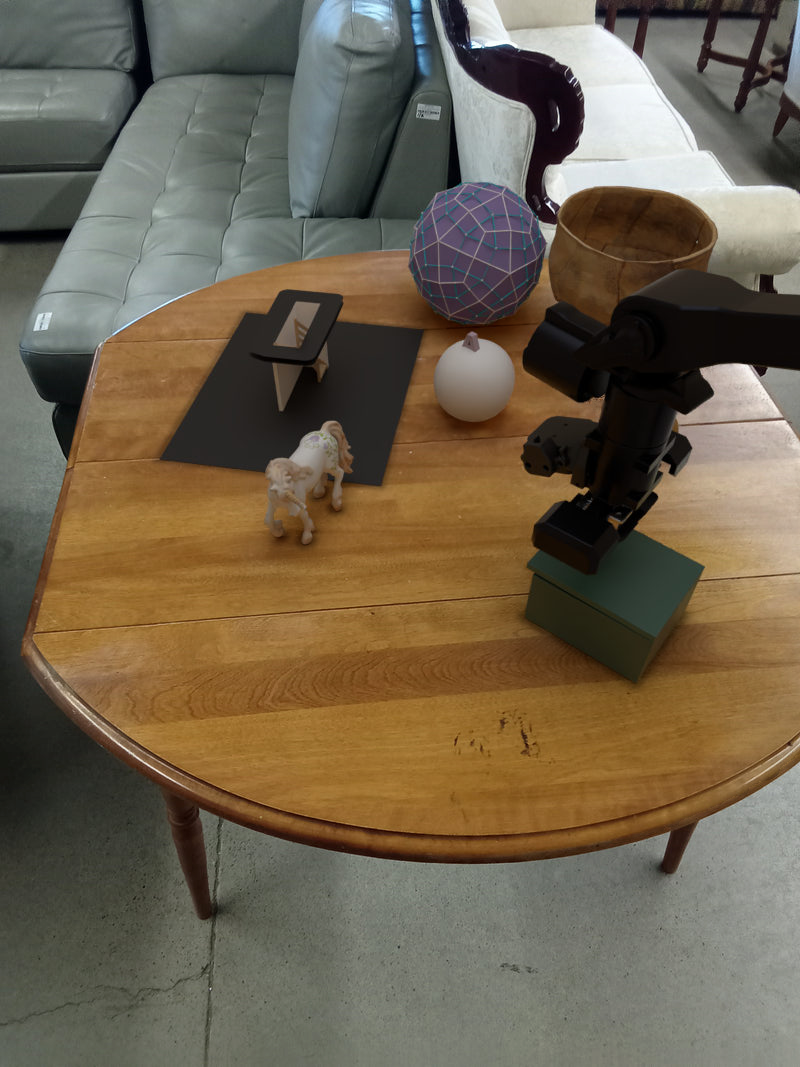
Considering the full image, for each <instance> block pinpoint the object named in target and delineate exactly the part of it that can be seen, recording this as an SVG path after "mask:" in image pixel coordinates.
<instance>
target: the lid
mask: <svg viewBox="0 0 800 1067" xmlns="http://www.w3.org/2000/svg"><path fill="white" fill-rule="evenodd" d="M525 568H526V569H527V570H529V571H531V572H532V573H533V574H534V573H536V574H538V575H539V576H541V577H543V578H545V579H546V580H548V581H550V582H551V583H553V584H555V585H556V586H558V587H560V588H562V589H563V590H565V591H567V592H568V593H570V594H572V595H574V596H575V597H577V598H579V599H580V600H582V601H584V602H586V603H587V604H589V605H591V606H592V607H594V608H596V609H597V610H599V611H601V612H603V613H604V614H606V615H608V616H609V617H611V618H613V619H615V620H616V621H618V622H620V623H621V624H623V625H625V626H627V627H628V628H630V629H632V630H633V631H635V632H637V633H638V634H640V635H642V636H644V637H645V638H647V639H649V640H650V641H652V642H654V641H655V640H656V638H657V637H658V635H659V634H660V633H661V631H662V630H663V628H664V627H665V625H666V624H667V623H668V621H669V620H670V618H671V617H672V615H673V614H674V612H675V611H676V610H677V608H678V607H679V605H680V604H681V602H682V601H683V599H684V598H685V597H686V595H687V594H688V592H689V591H690V589H691V588H692V587H693V585H694V584H695V582H696V581H697V579H698V578H699V576H700V575H701V574H702V575H703V572H704V570H705V568H706V566H705V565H703V564H702V563H700V562H698V561H696V560H694V559H692V558H690V557H688V556H686V555H684V554H683V553H681V552H678V551H676V550H675V549H673V548H671V547H669V546H667V545H665V544H663V543H661V542H660V541H658V540H655V539H654V538H652V537H650V536H648V535H646V534H644V533H642V532H641V531H638V530H637V529H636V528H634V529H633V531H632V532H631V533H630V534H629V536H628V537H627V538H626V539H625V540H624V541H623V542H620V543H619V544H617V546H616V548H615V550H614V551H613V553H612V555H611V557H610V558H609V559H608V560H607V562H606V563H605V564H604V565H603V566H602V568H601V569H600V570H599V571H598V573H597V574H596V575H585V574H583V573H581V572H580V571H578V570H576V569H574V568H572V567H570V566H568V565H567V564H565V563H563V562H561V561H559V560H557V559H556V558H554V557H552V556H550V555H548V554H546V553H545V552H543V551H541V550H539V549H537V551H536V553H534V555H533V556H532V557H531V558H530V559H529V560H528V561H527V562H526V567H525ZM702 575H701V576H702Z"/></svg>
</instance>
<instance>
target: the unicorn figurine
mask: <svg viewBox="0 0 800 1067" xmlns="http://www.w3.org/2000/svg"><path fill="white" fill-rule="evenodd" d="M350 448H351V447H350V446H349V445H348V442H347V440H346V438H345V435H344V433H343V431H342V427H341V425H340V424H339V423H338V422H336V421H327V422H325V423H324V424H323V425H322V428H321V430H320V431H314V432H311V433H308V434H307V435H305V436H304V437H303V438H302V439H301V441H300V445H299V447H298V448H297V450H296V451H295V452H294V453H293V454H292V456H291V457H290V458H289V459H287V458H277V459H274V460H271V461H270V463H269V464H268V466H267V468H266V472H264V473H265V480H266V481H269V482H268V487H267V499H268V502H267V508H266V512H265V515H264V521H263V522H264V524H265V525H266V527H267V528H268V529H269V532H270V534H271V535H272V536H274V537H276V538H280V537H283V536H285V535H286V532H287V530H286V529H285V527H284V522H283V521H282V519H275V514H276V512H277V510H278V509H279V508H280V509H283V510H284V509H285V510H286V509H287V511H288V516H289V517H297V516H299V518H300V519H301V521H302V522H303V529H304V531H303V533H302V536H301V538H300V541H301V543H302V544H303V545H308V544H310V543H312V541H313V533H312V532H313V531H314V530H315V529H316V528H315V526H314V521H313V519H312V518H311V517H309V512H308V511H307V505H306V501H307V495H308V493H310V492H311V491H312V490H313V493H312V496H313V497H314V498H315V499H319V498H322V497H324V495H325V494H326V488H325V487H326V486H327V483H328V480H327V479H328V477H327V473H330V474H331V475H333V476H335V481H334V482H333V490H332V492H331V498H332V502H331V505H332V508H333V509H334V511H337V512H339V511H341V510H342V509H343V501H342V498H343V487H342V485H341V484H342V482H343V481H342V478H343V474H344V472H346V473H352V472H353V470H352V469H351V468H350V464H351V463H352V462H353V461H352V459H354V457H353V456H352V455H351V454H350V453H349V452H348V451H347V450H349V449H350Z"/></svg>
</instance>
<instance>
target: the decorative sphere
mask: <svg viewBox="0 0 800 1067" xmlns="http://www.w3.org/2000/svg"><path fill="white" fill-rule="evenodd" d="M527 202H528V201H525V200H524V199H523V198H522V197H521V196H520V194H517V193H516V192H515V191H514V190H512V189H511V188H509V187H508V186H507V185H503V184H497V183H493V182H492V181H482V180H480V181H465V182H464V181H462V182H460V183H459V184H458V185H456V186H454V187H453V188H449V189H446V190H442V191H440V192H436V193H435V195H434V197H433V198H432V199H431V201H430V202H429V204H428V205H427V207H426V208H425V209H424V210H423V211H421V213H420V216H419V219H418V220H417V222H416V223H415V225H414V226H413V232H412V237H411V239H410V242H409V243H408V244H409V256H408V263H407V268H408V270H409V273H410V274H411V276H412V279H413V281H414V284H415V287H416V290H417V293H419V295H420V297H422V298H423V299H424V301H425V302H426V303H427V304H428V306H430V308H431V309H432V310H433V312H434V313H436V314H438V315H441V316H442V317H444V318H445V319H446V320H447V321H453V322H456V323H459V324H460V325H462V326H464V325H490V324H492V323H494V322H496V321H498V320H501V319H505V318H507V317H512V316H515V315H516V313H517V312H518V310H519V309H520V308H521V307H522V306H523V304H524V303H525V301H527V300H528V299H530V296H531V294H532V292H533V291H534V290H535V288H536V287H537V285H539V284H540V283H539V282H540V276H541V272H542V270H543V269H544V259H545V254H546V251H547V246H548V242H547V240H546V238H545V236H544V234H543V232H542V230H541V228H540V222H539V216H538V215H537V214H536V213H535V212H534V210H533V209H531V207H530V206H529V204H528V203H527Z"/></svg>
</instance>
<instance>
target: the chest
mask: <svg viewBox="0 0 800 1067" xmlns="http://www.w3.org/2000/svg"><path fill="white" fill-rule="evenodd" d="M702 575H703V573H702V574H701V575H700V576H699V578H698V579H697V581H696V582H695V584H694V585H693V587H692V588H691V589H690V591H689V592H688V594H687V595H686V597H685V598H684V599H683V601H682V602H681V604H680V605H679V607H678V608H677V610H676V611H675V612H674V614H673V615H672V617H671V618H670V620H669V621H668V623H667V624H666V625H665V627H664V628H663V630H662V631H661V633H660V634H659V635H658V637H657V638H656V640H655V641H654V642H652V641H650V640H649V639H647V638H645V637H644V636H642V635H640V634H638V633H637V632H635V631H633V630H632V629H630V628H628V627H627V626H625V625H623V624H621V623H620V622H618V621H616V620H615V619H613V618H611V617H609V616H608V615H606V614H604V613H603V612H601V611H599V610H597V609H596V608H594V607H592V606H591V605H589V604H587V603H586V602H584V601H582V600H580V599H579V598H577V597H575V596H574V595H572V594H570V593H568V592H567V591H565V590H563V589H562V588H560V587H558V586H556V585H555V584H553V583H551V582H550V581H548V580H546V579H545V578H543V577H541V576H539V575H538V574H536V573H534V572H533V574H532V577H531V582H530V586H529V587H530V588H529V592H528V596H527V600H526V601H527V602H526V605H525V606H526V607H525V611H524V618H525V619H526V620H529V621H530V622H532V623H533V624H535V625H536V626H538V627H540V628H542V629H543V630H545V631H547V632H548V633H550V634H551V635H553V636H555V637H557V638H559V639H560V640H562V641H563V642H565V643H567V644H569V645H570V646H572V647H573V648H576V649H577V650H578V651H580V652H582V653H584V654H585V655H587V656H589V657H590V658H592V659H594V660H595V661H597V662H599V663H601V664H602V665H603V666H605V667H607V668H609V669H611V671H614V672H616V673H617V674H619V675H620V676H623V677H624V678H626V679H627V680H629V681H630V682H632V683H634V684H637V683H638V682H639V681H640V679H641V677H642V676H643V675H644V673H645V671H646V670H647V669H648V667H649V666H650V664H651V663H652V661H653V660H654V658H655V657H656V655H657V654H658V652H659V651H660V649H661V648H662V646H664V644H665V642H666V641H667V639H668V638H669V637H670V635H671V634H672V632H673V630H674V629H675V627H676V626H677V625H678V624H679V621H681V619H682V618H683V616H684V614H685V612H686V609H687V608H688V605H689V603H690V601H691V598H692V597H693V594H694V592H695V590H696V588H697V585H698V583H699V581H700V580H701V577H702Z"/></svg>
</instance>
